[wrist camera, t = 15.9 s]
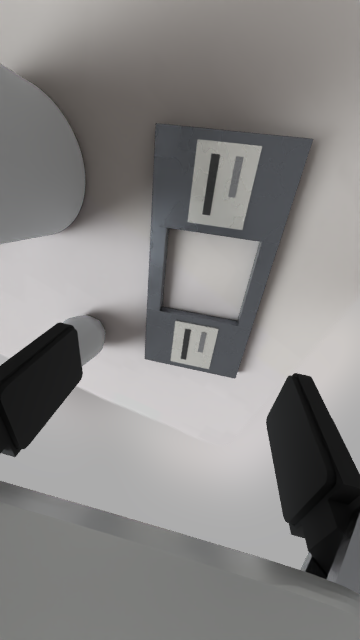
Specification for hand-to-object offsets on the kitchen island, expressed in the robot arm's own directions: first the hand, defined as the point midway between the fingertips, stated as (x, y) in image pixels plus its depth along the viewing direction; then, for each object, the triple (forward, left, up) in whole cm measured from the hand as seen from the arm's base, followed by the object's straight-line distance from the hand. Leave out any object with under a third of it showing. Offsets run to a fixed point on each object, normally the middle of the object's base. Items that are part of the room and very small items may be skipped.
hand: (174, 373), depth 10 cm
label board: (0, 0, -16) cm, 16 cm away
